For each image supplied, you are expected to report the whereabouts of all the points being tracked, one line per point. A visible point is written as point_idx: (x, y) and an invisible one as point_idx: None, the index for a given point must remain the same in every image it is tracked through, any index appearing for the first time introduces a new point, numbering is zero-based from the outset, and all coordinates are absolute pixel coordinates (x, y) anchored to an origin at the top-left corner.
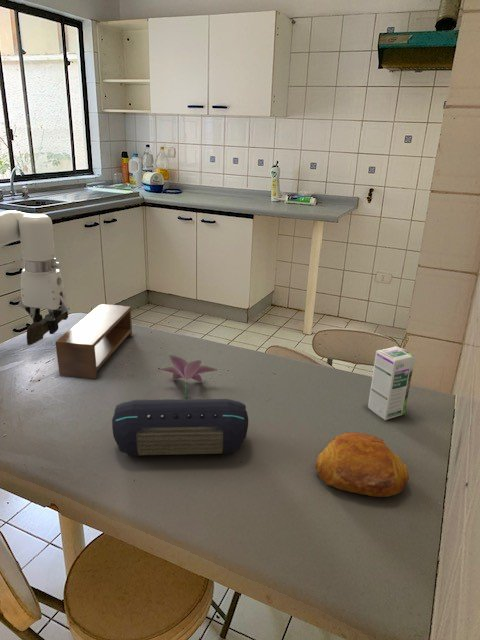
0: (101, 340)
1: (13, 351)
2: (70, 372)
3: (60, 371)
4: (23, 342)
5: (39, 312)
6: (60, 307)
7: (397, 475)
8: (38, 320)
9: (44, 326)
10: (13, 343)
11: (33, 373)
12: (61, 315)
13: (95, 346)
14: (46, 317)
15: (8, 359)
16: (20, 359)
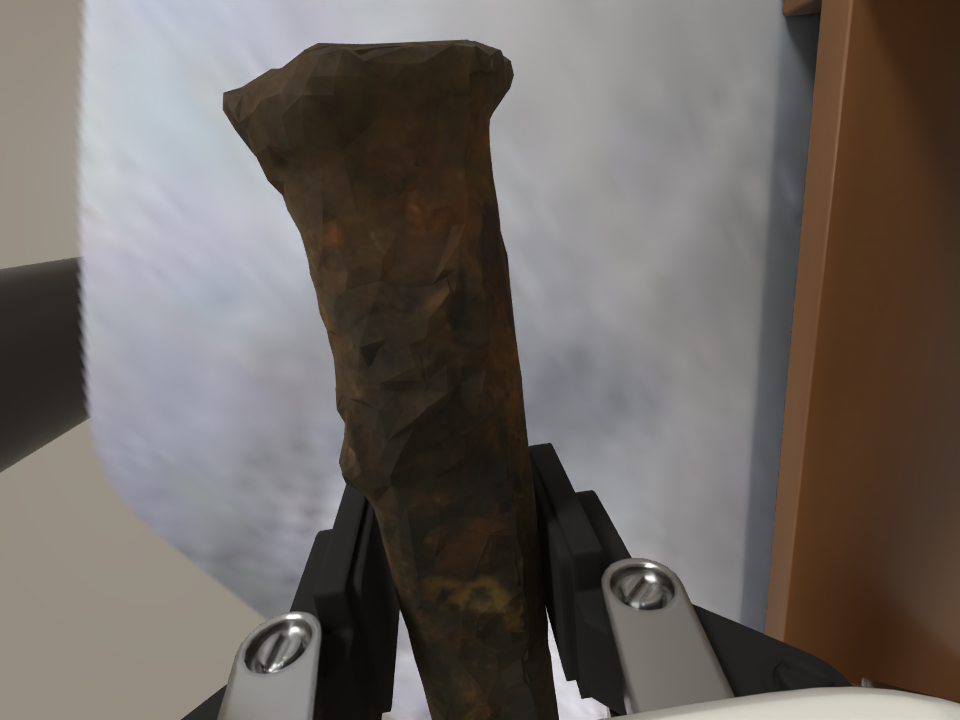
0: (955, 341)
1: (264, 560)
2: None
3: None
4: (205, 421)
5: (321, 659)
6: (379, 93)
7: None
8: (385, 648)
9: (555, 713)
10: (147, 461)
11: (584, 713)
12: (509, 279)
13: (929, 460)
14: (437, 567)
15: None
16: (399, 626)
